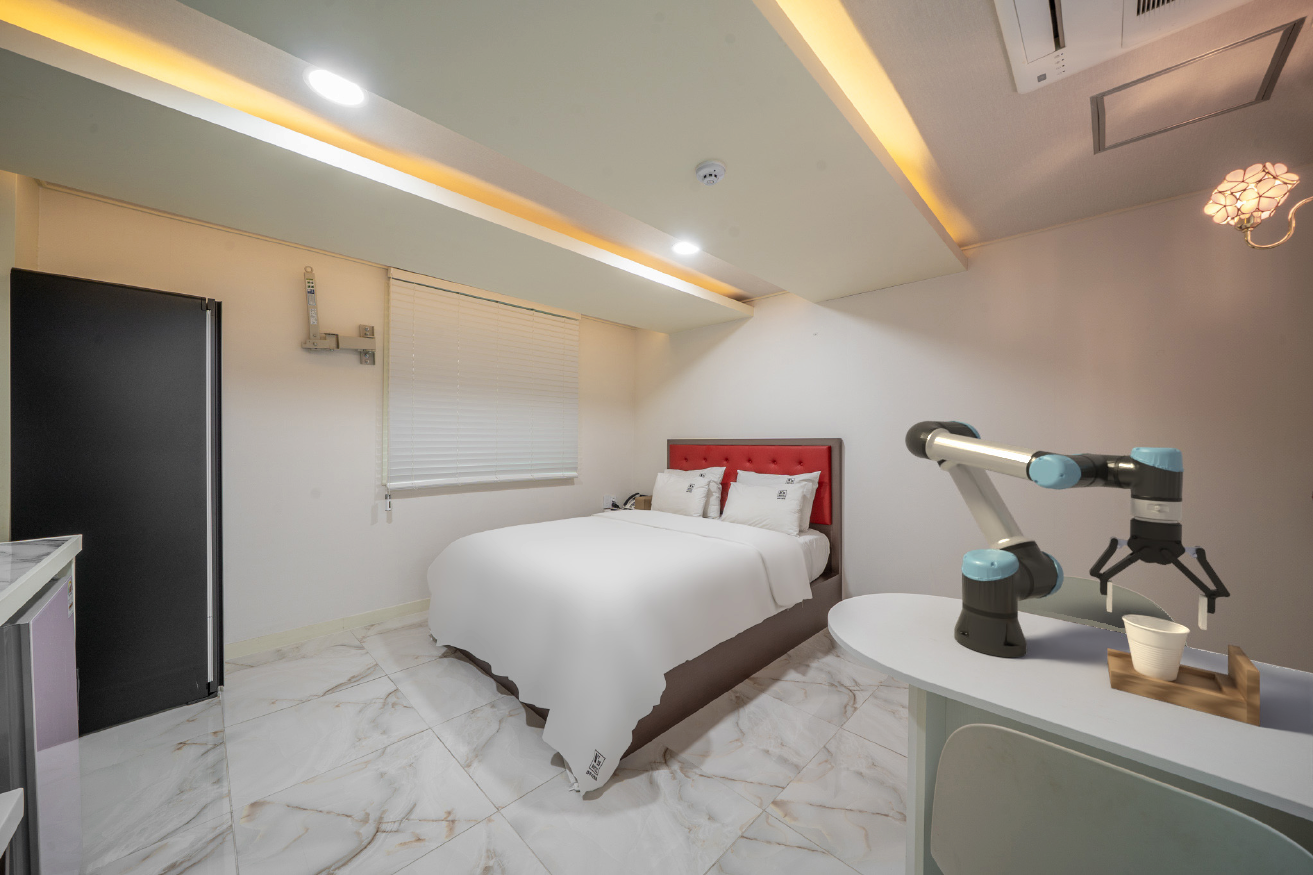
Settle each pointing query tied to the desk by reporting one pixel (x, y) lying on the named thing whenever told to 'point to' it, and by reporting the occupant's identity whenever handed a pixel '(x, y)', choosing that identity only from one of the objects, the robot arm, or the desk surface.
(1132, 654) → the cup
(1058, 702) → the desk surface
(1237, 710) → the bracket shelf
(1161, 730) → the desk surface
